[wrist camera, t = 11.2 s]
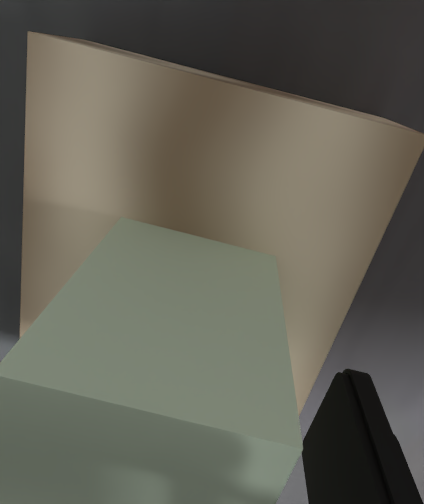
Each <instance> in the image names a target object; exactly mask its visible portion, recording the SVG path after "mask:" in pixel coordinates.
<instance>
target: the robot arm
mask: <svg viewBox="0 0 424 504" xmlns="http://www.w3.org/2000/svg"><path fill="white" fill-rule="evenodd" d="M302 458H303V465H304V472H305V479H306V487H307V494H308V501H309V504H423V502H422V499H421V497H420V494H419V492H418V489H417V487H416V484H415V482H414V479H413V477H412V474H411V472H410V469H409V467H408V464H407V462H406V459H405V457H404V454H403V452H402V449H401V447H400V444H399V442H398V440H397V438H396V436H395V435H394V434H393V432H392V430H391V427H390V425H389V422H388V420H387V417H386V415H385V412H384V409H383V407H382V404H381V402H380V399H379V397H378V394H377V392H376V389H375V387H374V384H373V381H372V379H371V377H370V375H369V374H367V373H363V372H359V371H355V370H351V369H345V370H344V371H343V373H340V372H338V373H337V374H336V375H335V377H334V379H333V381H332V383H331V385H330V387H329V389H328V391H327V393H326V395H325V397H324V399H323V401H322V403H321V405H320V407H319V409H318V411H317V414H316V416H315V418H314V420H313V422H312V424H311V426H310V428H309V430H308V432H307V434H306V436H305V438H304V440H303V451H302Z"/></svg>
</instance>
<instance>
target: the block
mask: <svg viewBox="0 0 424 504" xmlns="http://www.w3.org/2000/svg"><path fill="white" fill-rule="evenodd" d="M302 451H303V443H302V436H301V429H300V422H299V415H298V408H297V401H296V394H295V388H294V381H293V374H292V367H291V360H290V353H289V346H288V339H287V332H286V325H285V318H284V311H283V304H282V297H281V290H280V283H279V276H278V269H277V262H276V256H274V255H270V254H266V253H262V252H258V251H254V250H250V249H246V248H242V247H238V246H234V245H230V244H226V243H222V242H218V241H214V240H210V239H207V238H203V237H199V236H195V235H191V234H187V233H183V232H179V231H175V230H171V229H167V228H163V227H159V226H155V225H151V224H147V223H143V222H140V221H136V220H132V219H128V218H124V217H121V218H120V219H119V220H118V222H117V223H116V224H115V225H114V226H113V228H112V229H111V230H110V231H109V232H108V234H107V235H106V236H105V237H104V238H103V240H102V241H101V242H100V243H99V244H98V246H97V247H96V248H95V249H94V250H93V252H92V253H91V254H90V255H89V256H88V258H87V259H86V260H85V261H84V262H83V264H82V265H81V266H80V267H79V268H78V270H77V271H76V272H75V273H74V274H73V276H72V277H71V278H70V279H69V280H68V282H67V283H66V284H65V285H64V286H63V288H62V289H61V290H60V291H59V292H58V294H57V295H56V296H55V297H54V298H53V300H52V301H51V302H50V303H49V304H48V306H47V307H46V308H45V309H44V310H43V312H42V313H41V314H40V315H39V316H38V318H37V319H36V320H35V321H34V322H33V324H32V325H31V326H30V327H29V328H28V330H27V331H26V332H25V333H24V334H23V336H22V337H21V338H20V339H19V340H18V342H17V343H16V344H15V345H14V346H13V348H12V349H11V350H10V351H9V353H8V354H7V355H6V356H5V357H4V359H3V360H2V361H1V362H0V504H276V502H277V500H278V498H279V496H280V494H281V492H282V490H283V488H284V486H285V484H286V482H287V480H288V478H289V476H290V474H291V472H292V470H293V468H294V466H295V464H296V462H297V460H298V458H299V457H300V455H301V453H302Z"/></svg>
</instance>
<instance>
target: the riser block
mask: <svg viewBox="0 0 424 504" xmlns="http://www.w3.org/2000/svg"><path fill="white" fill-rule="evenodd" d="M423 149H424V134H423V133H421V132H418V131H416V130H413V129H411V128H408V127H406V126H403V125H400V124H398V123H395V122H393V121H390V120H388V119H385V118H382V117H378V116H375V115H371V114H367V113H363V112H359V111H355V110H352V109H348V108H344V107H340V106H336V105H332V104H329V103H325V102H321V101H317V100H313V99H309V98H306V97H302V96H298V95H294V94H290V93H287V92H283V91H279V90H275V89H271V88H267V87H264V86H260V85H256V84H252V83H248V82H244V81H241V80H237V79H233V78H229V77H225V76H221V75H218V74H214V73H210V72H206V71H202V70H199V69H195V68H191V67H187V66H183V65H179V64H176V63H172V62H168V61H164V60H160V59H156V58H153V57H149V56H145V55H141V54H137V53H133V52H130V51H126V50H122V49H118V48H114V47H110V46H107V45H103V44H99V43H95V42H91V41H88V40H83V39H77V38H70V37H63V36H57V35H50V34H44V33H37V32H30V31H28V38H27V77H26V115H25V153H24V192H23V230H22V269H21V307H20V338H21V337H22V336H23V334H24V333H25V332H26V331H27V330H28V328H29V327H30V326H31V325H32V324H33V322H34V321H35V320H36V319H37V318H38V316H39V315H40V314H41V313H42V312H43V310H44V309H45V308H46V307H47V306H48V304H49V303H50V302H51V301H52V300H53V298H54V297H55V296H56V295H57V294H58V292H59V291H60V290H61V289H62V288H63V286H64V285H65V284H66V283H67V282H68V280H69V279H70V278H71V277H72V276H73V274H74V273H75V272H76V271H77V270H78V268H79V267H80V266H81V265H82V264H83V262H84V261H85V260H86V259H87V258H88V256H89V255H90V254H91V253H92V252H93V250H94V249H95V248H96V247H97V246H98V244H99V243H100V242H101V241H102V240H103V238H104V237H105V236H106V235H107V234H108V232H109V231H110V230H111V229H112V228H113V226H114V225H115V224H116V223H117V222H118V220H119V219H120V218H121V217H124V218H128V219H132V220H136V221H140V222H143V223H147V224H151V225H155V226H159V227H163V228H167V229H171V230H175V231H179V232H183V233H187V234H191V235H195V236H199V237H203V238H207V239H210V240H214V241H218V242H222V243H226V244H230V245H234V246H238V247H242V248H246V249H250V250H254V251H258V252H262V253H266V254H270V255H274V256H276V262H277V269H278V276H279V283H280V290H281V297H282V304H283V311H284V318H285V325H286V332H287V339H288V346H289V353H290V360H291V367H292V374H293V381H294V388H295V394H296V401H297V408H298V415H300V413H301V411H302V408H303V406H304V404H305V402H306V400H307V398H308V396H309V393H310V391H311V389H312V387H313V385H314V383H315V381H316V378H317V376H318V374H319V372H320V370H321V368H322V366H323V363H324V361H325V359H326V357H327V355H328V353H329V351H330V348H331V346H332V344H333V342H334V340H335V338H336V335H337V333H338V331H339V329H340V327H341V325H342V323H343V320H344V318H345V316H346V314H347V312H348V310H349V308H350V305H351V303H352V301H353V299H354V297H355V295H356V293H357V290H358V288H359V286H360V284H361V282H362V280H363V278H364V275H365V273H366V271H367V269H368V267H369V265H370V263H371V260H372V258H373V256H374V254H375V252H376V250H377V247H378V245H379V243H380V241H381V239H382V237H383V235H384V232H385V230H386V228H387V226H388V224H389V222H390V220H391V217H392V215H393V213H394V211H395V209H396V207H397V205H398V202H399V200H400V198H401V196H402V194H403V192H404V190H405V187H406V185H407V183H408V181H409V179H410V177H411V174H412V172H413V170H414V168H415V166H416V164H417V162H418V159H419V157H420V155H421V153H422V151H423Z"/></svg>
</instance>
